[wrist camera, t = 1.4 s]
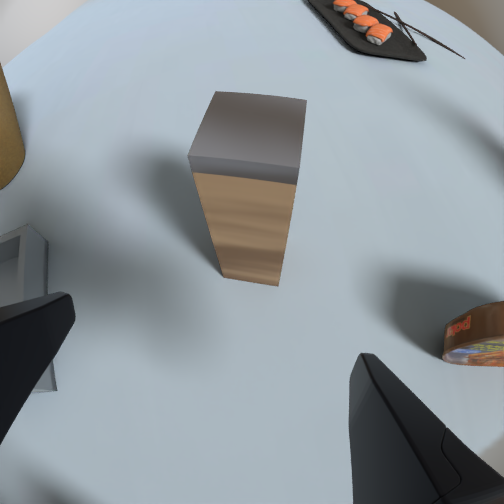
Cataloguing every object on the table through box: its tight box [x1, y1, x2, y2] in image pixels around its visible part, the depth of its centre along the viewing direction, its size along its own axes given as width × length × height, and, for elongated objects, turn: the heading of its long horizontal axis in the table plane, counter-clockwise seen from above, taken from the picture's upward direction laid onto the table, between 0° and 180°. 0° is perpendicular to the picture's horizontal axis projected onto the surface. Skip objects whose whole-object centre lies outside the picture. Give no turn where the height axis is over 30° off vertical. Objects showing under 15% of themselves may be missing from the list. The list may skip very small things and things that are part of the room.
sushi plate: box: [308, 0, 465, 61], centre depth 41 cm, size 29×30×4 cm
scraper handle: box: [188, 91, 307, 286], centre depth 17 cm, size 4×4×13 cm
